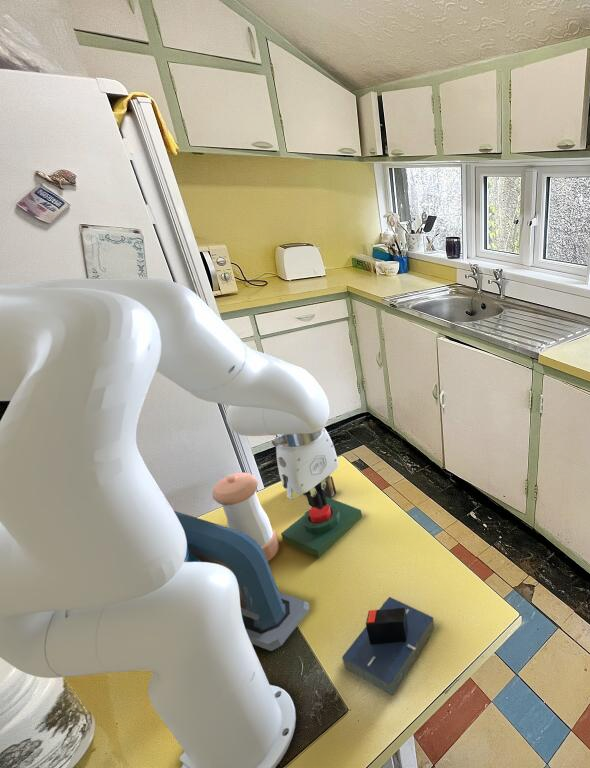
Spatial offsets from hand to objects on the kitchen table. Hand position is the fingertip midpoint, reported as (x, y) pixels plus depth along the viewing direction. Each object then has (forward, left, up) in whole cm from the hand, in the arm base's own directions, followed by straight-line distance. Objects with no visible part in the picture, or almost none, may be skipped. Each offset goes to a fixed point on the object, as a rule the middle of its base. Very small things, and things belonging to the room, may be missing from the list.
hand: (318, 505), depth 85 cm
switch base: (-14, -29, -7) cm, 33 cm away
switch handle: (-14, -29, -4) cm, 33 cm away
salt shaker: (-10, +7, -7) cm, 14 cm away
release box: (0, 0, -7) cm, 7 cm away
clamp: (-20, +5, -7) cm, 22 cm away
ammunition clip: (+8, +11, -7) cm, 15 cm away
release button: (0, 0, -3) cm, 3 cm away
